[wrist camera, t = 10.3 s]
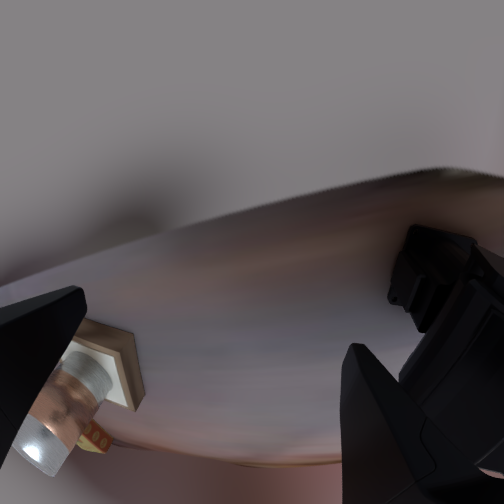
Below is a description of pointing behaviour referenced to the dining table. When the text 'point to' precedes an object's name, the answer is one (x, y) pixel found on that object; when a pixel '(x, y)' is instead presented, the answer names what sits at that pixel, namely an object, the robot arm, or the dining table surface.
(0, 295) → the dining table surface
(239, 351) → the dining table surface
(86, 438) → the carton
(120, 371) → the board
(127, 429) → the dining table surface
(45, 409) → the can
